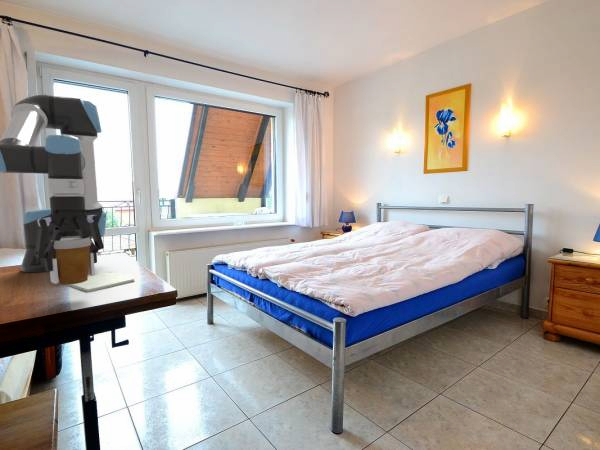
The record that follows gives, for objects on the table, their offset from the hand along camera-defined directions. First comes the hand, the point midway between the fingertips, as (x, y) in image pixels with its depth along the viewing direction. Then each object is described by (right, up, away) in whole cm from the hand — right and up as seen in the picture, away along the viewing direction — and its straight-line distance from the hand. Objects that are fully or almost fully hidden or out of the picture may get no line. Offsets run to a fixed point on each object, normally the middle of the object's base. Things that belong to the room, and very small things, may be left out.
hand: (73, 278), depth 87 cm
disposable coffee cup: (0, -1, 0) cm, 1 cm away
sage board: (-3, -4, +17) cm, 17 cm away
